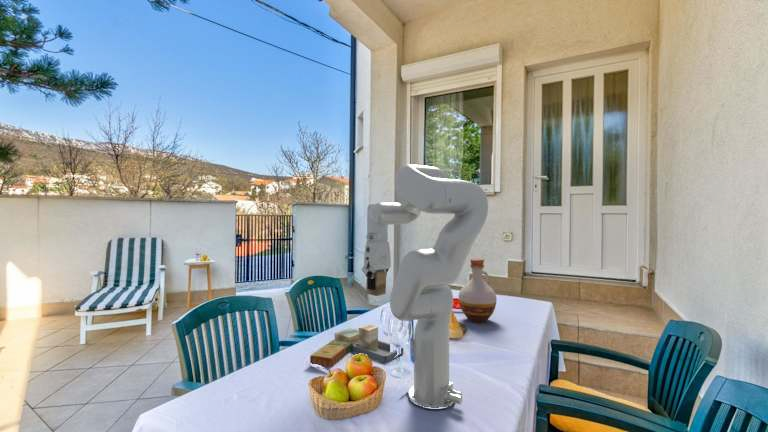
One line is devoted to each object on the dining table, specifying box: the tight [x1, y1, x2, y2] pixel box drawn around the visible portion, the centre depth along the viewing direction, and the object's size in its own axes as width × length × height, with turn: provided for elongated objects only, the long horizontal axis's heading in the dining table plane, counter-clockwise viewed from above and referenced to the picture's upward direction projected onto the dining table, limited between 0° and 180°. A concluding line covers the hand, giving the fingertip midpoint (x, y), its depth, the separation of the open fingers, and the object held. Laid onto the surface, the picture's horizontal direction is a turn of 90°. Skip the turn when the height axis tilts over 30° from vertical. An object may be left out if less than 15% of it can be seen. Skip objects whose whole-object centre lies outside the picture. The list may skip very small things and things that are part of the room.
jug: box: [458, 257, 497, 324], centre depth 161 cm, size 20×18×30 cm
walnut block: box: [365, 270, 387, 297], centre depth 119 cm, size 5×5×8 cm
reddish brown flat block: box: [309, 339, 352, 368], centre depth 114 cm, size 8×16×4 cm, turn 161°
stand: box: [334, 327, 359, 345], centre depth 127 cm, size 8×8×5 cm
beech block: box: [358, 324, 379, 351], centre depth 121 cm, size 5×5×8 cm
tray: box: [350, 339, 404, 364], centre depth 118 cm, size 16×10×3 cm, turn 51°
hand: (376, 287), depth 119 cm, fingers closed on walnut block, 5 cm apart
